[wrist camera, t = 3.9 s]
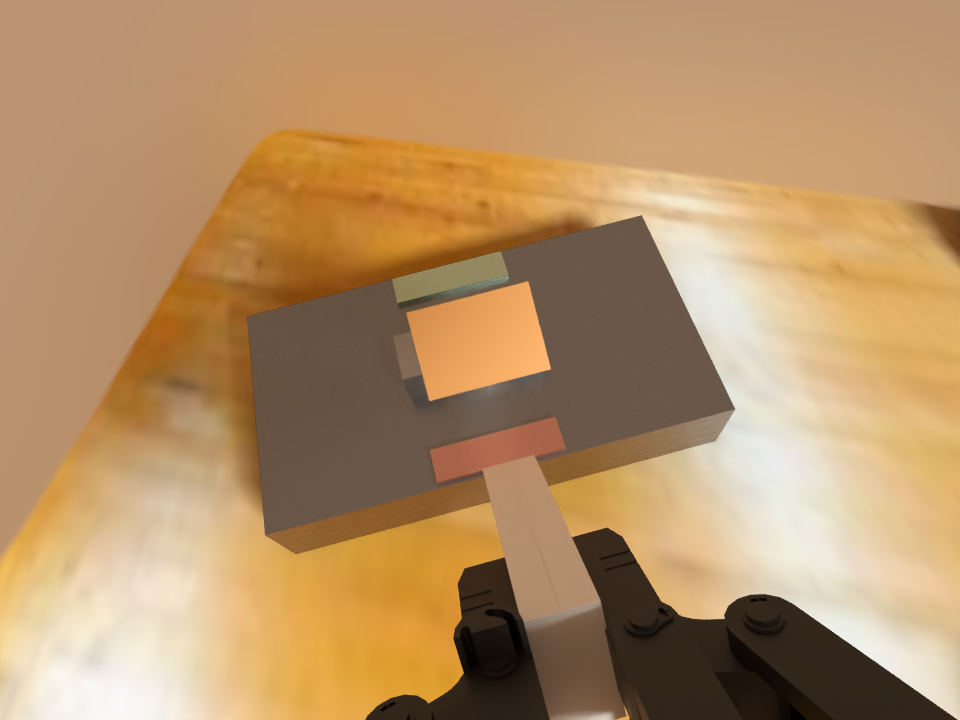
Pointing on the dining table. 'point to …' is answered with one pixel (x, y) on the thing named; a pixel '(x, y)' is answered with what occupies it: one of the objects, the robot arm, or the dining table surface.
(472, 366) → the lever
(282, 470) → the box
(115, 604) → the dining table surface
